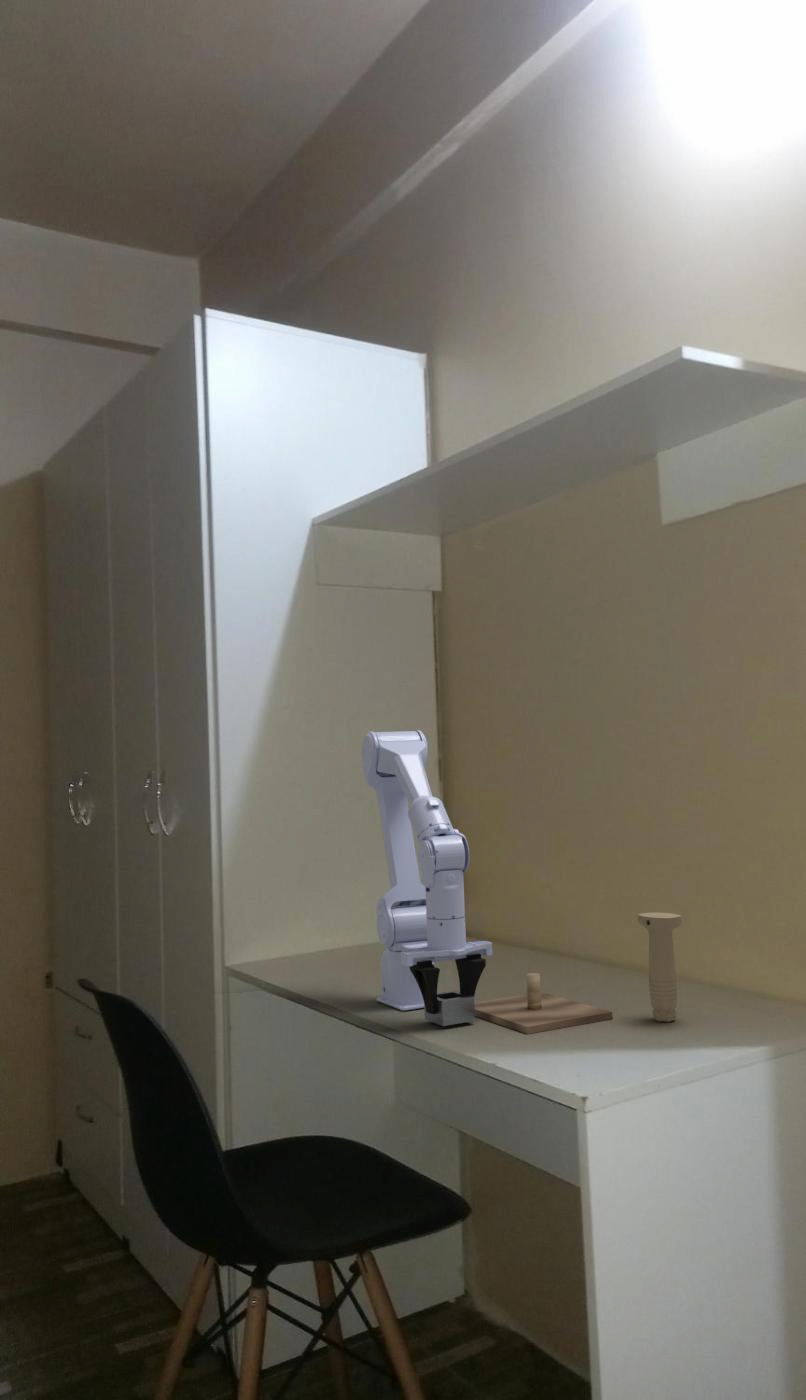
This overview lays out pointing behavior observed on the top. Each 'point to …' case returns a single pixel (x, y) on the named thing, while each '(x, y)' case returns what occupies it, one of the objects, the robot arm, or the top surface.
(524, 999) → the board
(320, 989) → the top surface
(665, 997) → the handle
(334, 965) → the top surface
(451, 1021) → the collar
